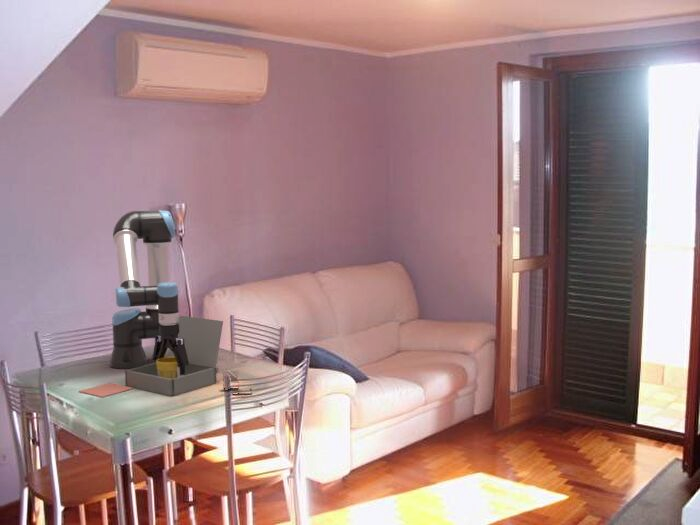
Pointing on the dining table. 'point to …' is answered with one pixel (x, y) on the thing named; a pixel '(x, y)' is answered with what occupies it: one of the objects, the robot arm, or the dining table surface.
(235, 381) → the architectural model
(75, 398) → the dining table surface
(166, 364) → the plant pot
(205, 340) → the case
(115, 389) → the mat
